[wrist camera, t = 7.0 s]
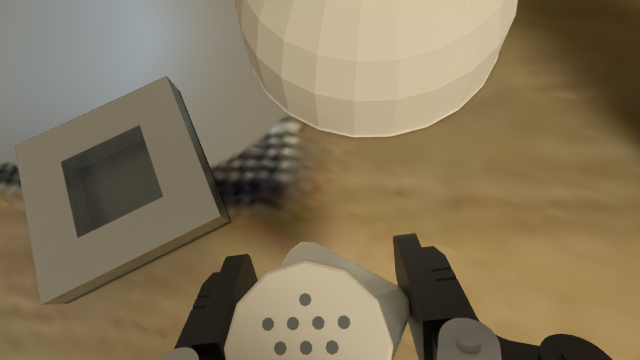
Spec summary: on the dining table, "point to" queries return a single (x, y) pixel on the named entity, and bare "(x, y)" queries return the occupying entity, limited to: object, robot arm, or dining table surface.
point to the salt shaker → (318, 311)
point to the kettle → (373, 58)
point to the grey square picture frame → (115, 191)
